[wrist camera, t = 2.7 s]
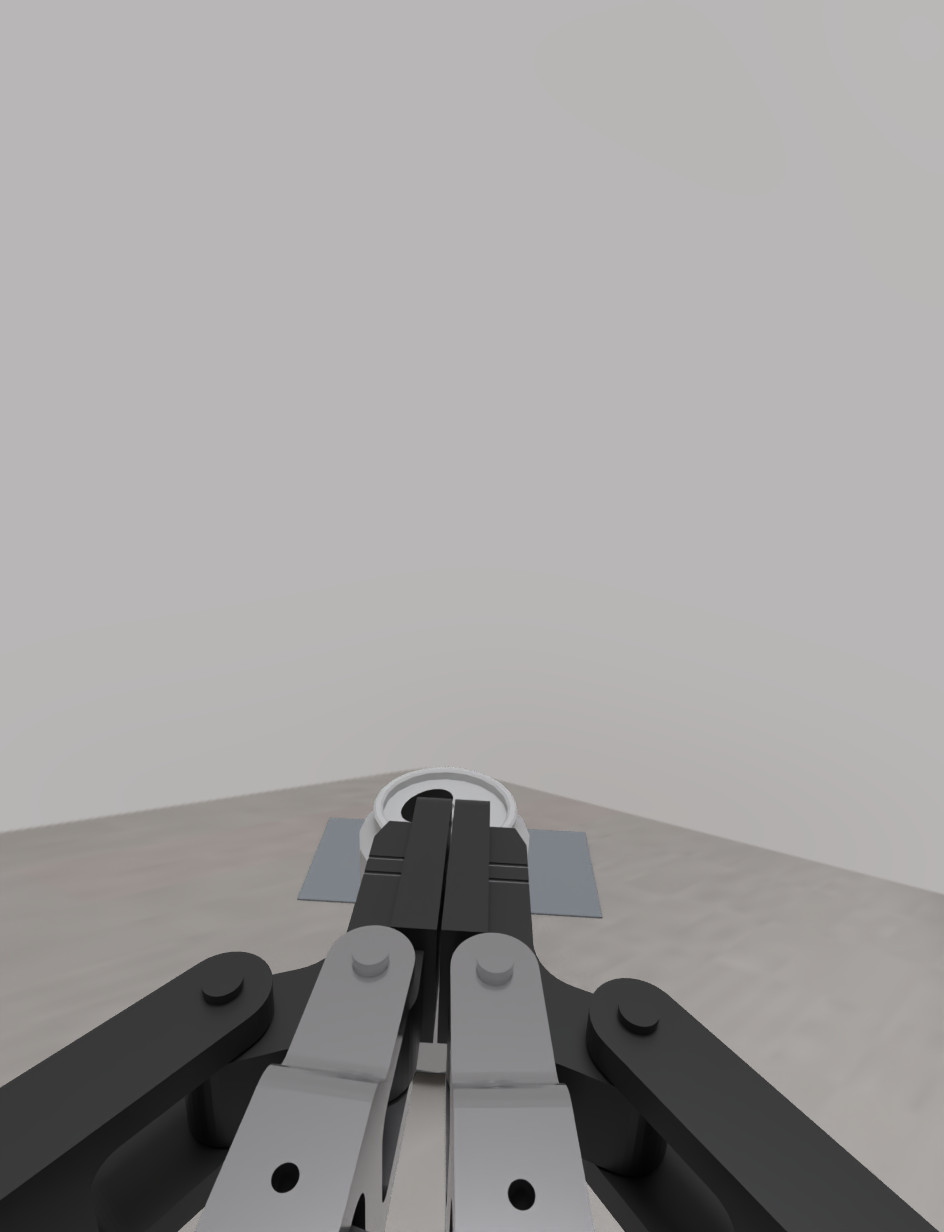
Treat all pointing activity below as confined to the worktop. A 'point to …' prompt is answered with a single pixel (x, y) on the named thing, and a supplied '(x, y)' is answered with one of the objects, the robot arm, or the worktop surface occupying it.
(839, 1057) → the worktop surface
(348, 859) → the t mat
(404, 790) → the can
